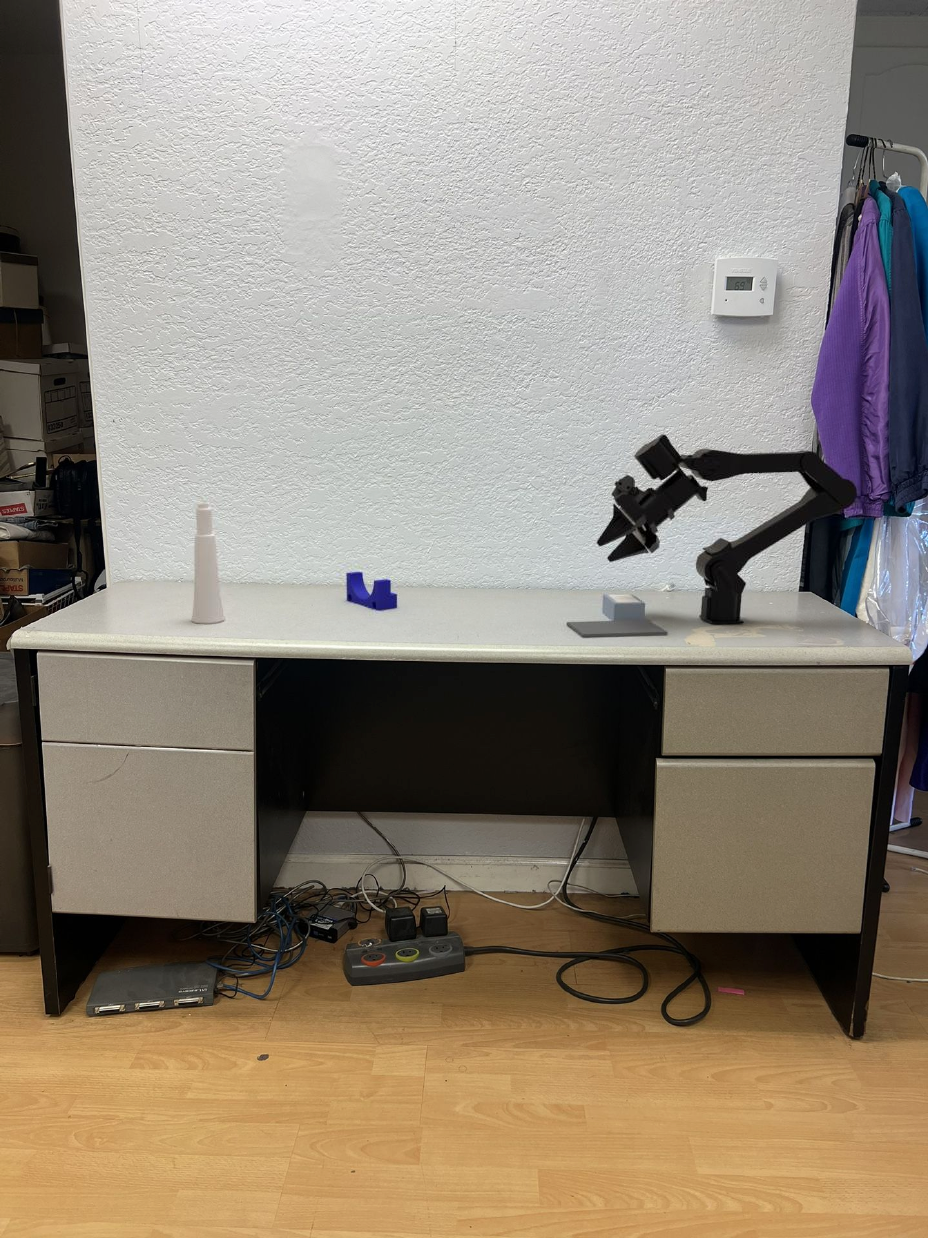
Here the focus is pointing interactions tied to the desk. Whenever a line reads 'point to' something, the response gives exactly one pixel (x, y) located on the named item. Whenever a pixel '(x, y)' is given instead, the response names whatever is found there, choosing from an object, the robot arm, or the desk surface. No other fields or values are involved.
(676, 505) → the robot arm
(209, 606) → the cosmetic bottle
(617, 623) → the mat
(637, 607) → the card deck
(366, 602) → the cable clip
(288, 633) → the desk surface
